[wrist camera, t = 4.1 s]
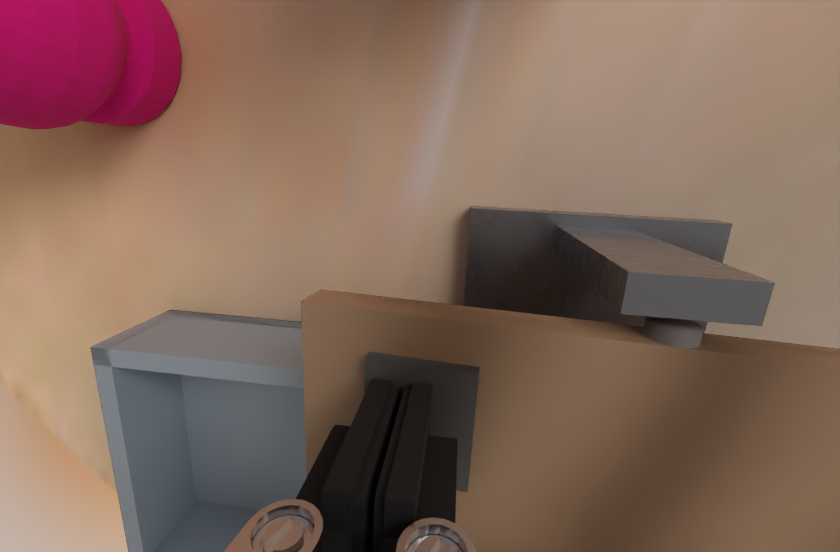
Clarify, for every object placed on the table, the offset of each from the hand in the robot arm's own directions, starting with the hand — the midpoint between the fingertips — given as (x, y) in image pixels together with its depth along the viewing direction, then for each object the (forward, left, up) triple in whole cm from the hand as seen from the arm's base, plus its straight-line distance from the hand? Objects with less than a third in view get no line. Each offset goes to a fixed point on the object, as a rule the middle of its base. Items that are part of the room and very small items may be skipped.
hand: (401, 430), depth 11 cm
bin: (+7, +7, -9) cm, 13 cm away
